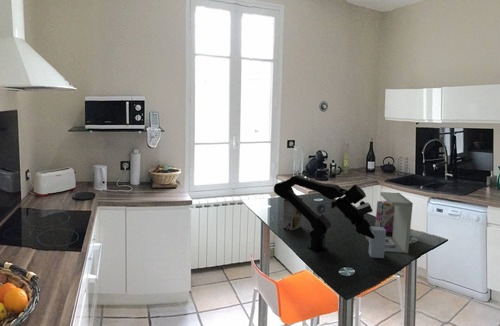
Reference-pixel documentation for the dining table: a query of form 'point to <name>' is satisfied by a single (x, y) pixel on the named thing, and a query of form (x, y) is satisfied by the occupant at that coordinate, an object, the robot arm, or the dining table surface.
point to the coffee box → (291, 216)
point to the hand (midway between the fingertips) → (371, 234)
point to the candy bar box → (385, 215)
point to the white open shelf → (398, 223)
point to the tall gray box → (377, 242)
